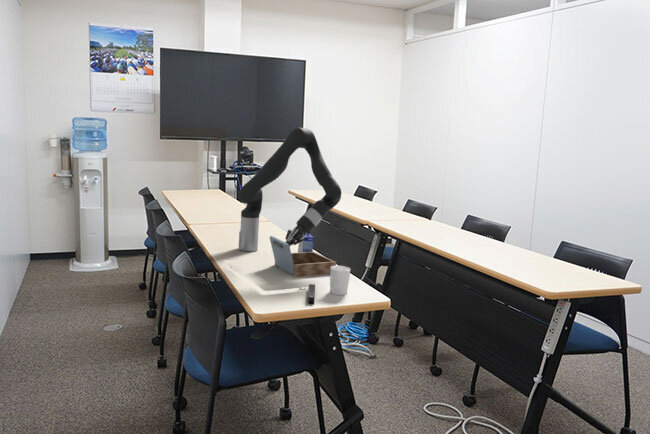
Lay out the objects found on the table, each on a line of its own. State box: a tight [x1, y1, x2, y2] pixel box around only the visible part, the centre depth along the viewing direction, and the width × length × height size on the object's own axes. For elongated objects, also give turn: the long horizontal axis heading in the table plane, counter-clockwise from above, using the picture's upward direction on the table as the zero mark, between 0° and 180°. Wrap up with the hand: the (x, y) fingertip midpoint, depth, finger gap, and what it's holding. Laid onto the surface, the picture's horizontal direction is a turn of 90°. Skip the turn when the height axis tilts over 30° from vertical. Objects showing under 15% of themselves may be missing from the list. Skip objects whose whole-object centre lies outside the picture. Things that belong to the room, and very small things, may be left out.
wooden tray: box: [274, 251, 337, 278], centre depth 233 cm, size 20×20×6 cm
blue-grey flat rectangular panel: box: [269, 235, 294, 276], centre depth 226 cm, size 2×17×14 cm, turn 31°
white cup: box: [329, 265, 351, 296], centre depth 207 cm, size 8×8×10 cm
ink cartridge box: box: [297, 232, 315, 253], centre depth 256 cm, size 10×6×14 cm, turn 15°
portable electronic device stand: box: [307, 283, 316, 305], centre depth 200 cm, size 18×3×3 cm, turn 0°
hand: (283, 249), depth 226 cm, fingers closed
